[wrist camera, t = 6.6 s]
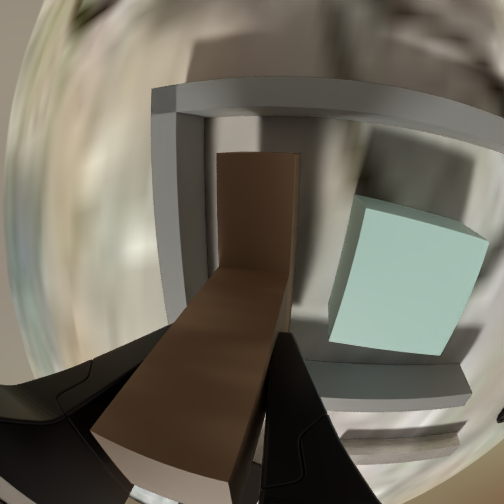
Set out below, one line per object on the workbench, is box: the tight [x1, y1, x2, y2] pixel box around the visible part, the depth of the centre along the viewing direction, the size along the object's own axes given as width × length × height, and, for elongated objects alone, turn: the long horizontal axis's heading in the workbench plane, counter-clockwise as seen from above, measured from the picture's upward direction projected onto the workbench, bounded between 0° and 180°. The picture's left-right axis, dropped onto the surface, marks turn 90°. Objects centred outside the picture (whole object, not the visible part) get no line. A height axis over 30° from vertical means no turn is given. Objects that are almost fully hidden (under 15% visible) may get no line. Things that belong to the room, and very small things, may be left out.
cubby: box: [151, 76, 504, 412], centre depth 12 cm, size 18×16×3 cm
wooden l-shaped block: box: [90, 152, 300, 504], centre depth 8 cm, size 2×10×10 cm, turn 0°
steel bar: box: [340, 431, 460, 465], centre depth 17 cm, size 12×2×2 cm, turn 89°
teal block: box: [328, 194, 489, 356], centre depth 12 cm, size 6×6×4 cm
